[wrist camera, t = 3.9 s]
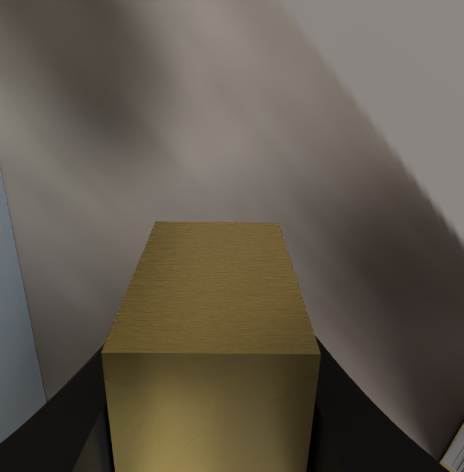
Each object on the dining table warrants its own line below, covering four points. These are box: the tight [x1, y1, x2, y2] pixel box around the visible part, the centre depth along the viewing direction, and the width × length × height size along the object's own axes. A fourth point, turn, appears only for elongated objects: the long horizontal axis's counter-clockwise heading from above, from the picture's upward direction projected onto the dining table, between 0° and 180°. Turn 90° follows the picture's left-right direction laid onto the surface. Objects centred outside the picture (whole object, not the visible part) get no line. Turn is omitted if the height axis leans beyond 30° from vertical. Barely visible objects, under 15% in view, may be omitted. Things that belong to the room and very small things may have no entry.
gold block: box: [101, 221, 321, 472], centre depth 9 cm, size 5×3×5 cm, turn 179°
